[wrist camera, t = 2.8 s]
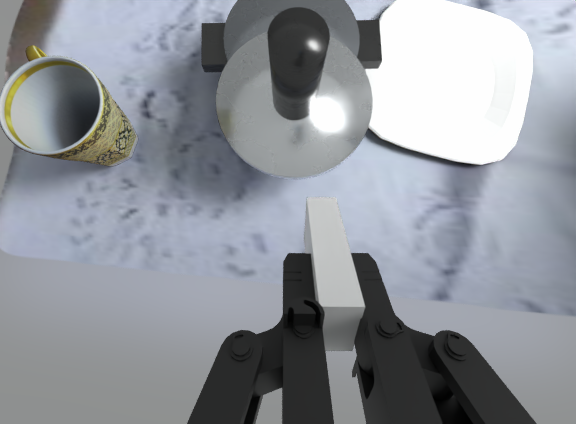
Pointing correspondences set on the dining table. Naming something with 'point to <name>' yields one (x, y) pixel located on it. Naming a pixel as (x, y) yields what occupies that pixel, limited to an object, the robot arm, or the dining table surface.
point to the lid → (294, 98)
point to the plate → (450, 81)
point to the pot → (261, 11)
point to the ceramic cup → (64, 112)
